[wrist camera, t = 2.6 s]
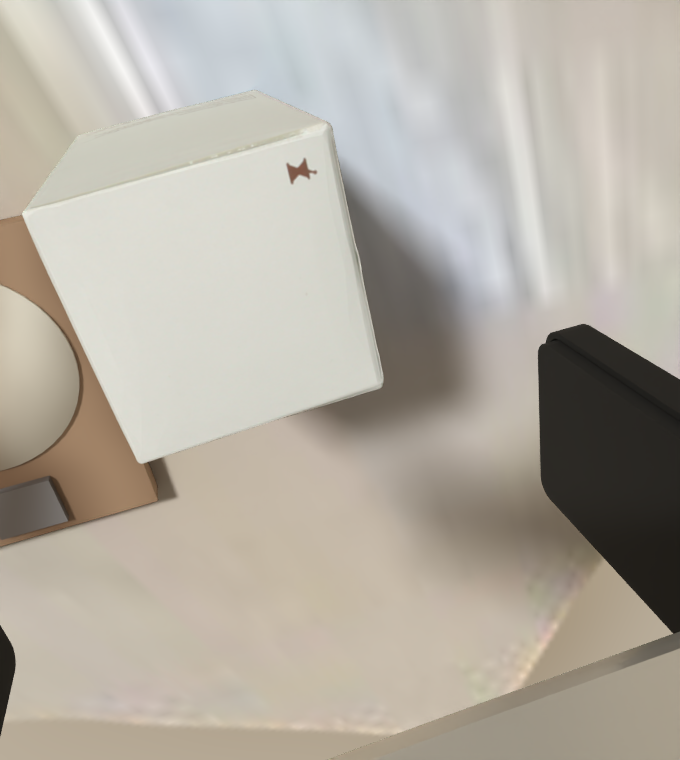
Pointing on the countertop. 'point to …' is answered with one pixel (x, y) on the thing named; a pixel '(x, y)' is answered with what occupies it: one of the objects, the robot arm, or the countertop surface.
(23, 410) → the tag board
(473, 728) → the robot arm
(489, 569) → the countertop surface
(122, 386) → the supplement box
